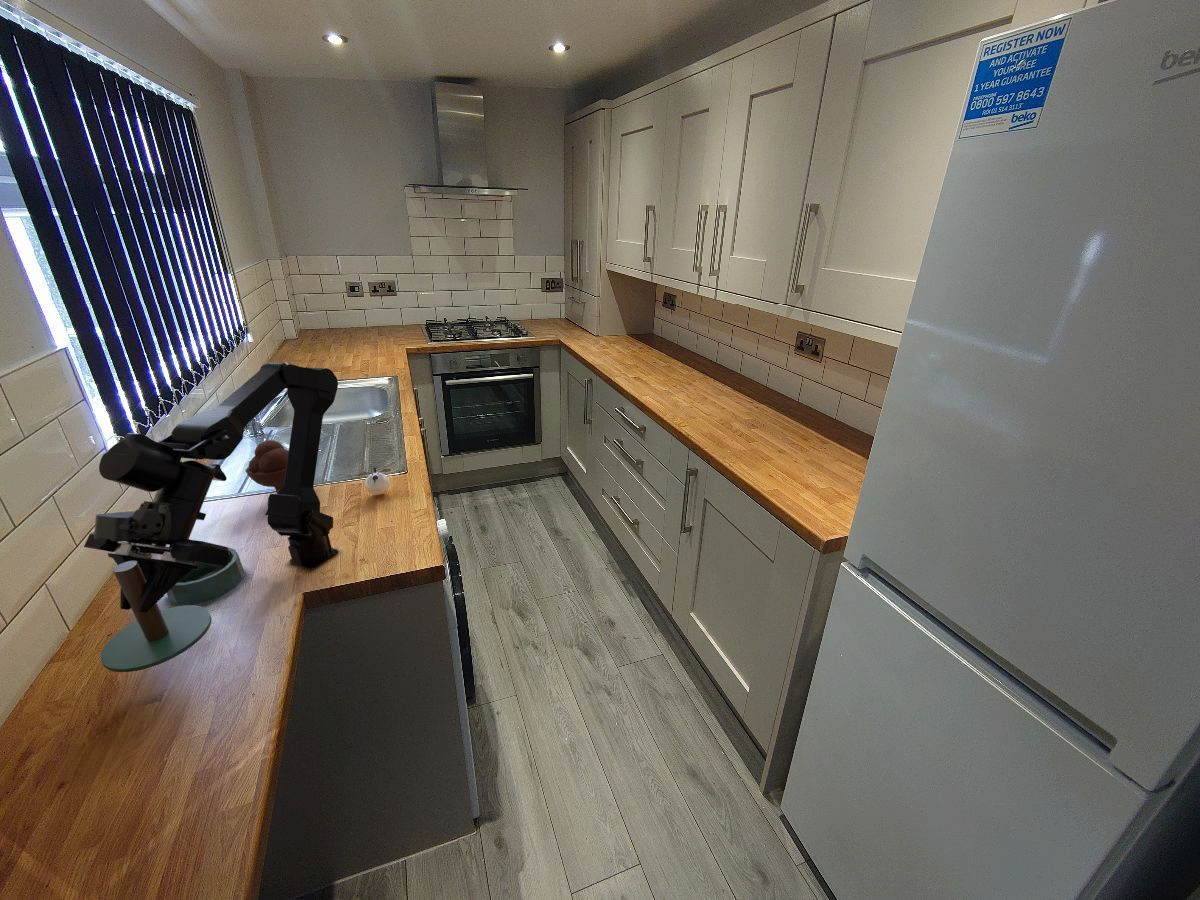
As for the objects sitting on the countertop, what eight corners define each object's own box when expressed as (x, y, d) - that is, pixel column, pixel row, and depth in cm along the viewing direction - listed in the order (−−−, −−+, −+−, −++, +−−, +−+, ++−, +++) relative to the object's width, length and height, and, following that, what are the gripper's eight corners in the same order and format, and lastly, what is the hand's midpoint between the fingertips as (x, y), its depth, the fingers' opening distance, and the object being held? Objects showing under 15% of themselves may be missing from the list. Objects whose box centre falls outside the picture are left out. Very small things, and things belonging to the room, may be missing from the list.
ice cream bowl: (246, 506, 125) (227, 449, 119) (287, 486, 135) (271, 432, 129) (278, 514, 122) (260, 455, 116) (317, 492, 131) (303, 437, 125)
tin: (219, 562, 105) (211, 541, 103) (258, 575, 101) (251, 554, 99) (155, 598, 95) (145, 576, 93) (196, 614, 91) (187, 591, 89)
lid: (181, 602, 83) (150, 532, 78) (231, 624, 79) (203, 551, 73) (84, 658, 73) (41, 582, 68) (135, 688, 68) (93, 608, 63)
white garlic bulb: (362, 506, 124) (356, 480, 121) (364, 491, 131) (358, 466, 128) (395, 500, 126) (389, 475, 124) (395, 486, 133) (390, 462, 130)
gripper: (69, 479, 72) (11, 596, 66) (182, 490, 68) (130, 615, 63) (147, 501, 82) (102, 604, 76) (249, 511, 78) (209, 620, 73)
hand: (133, 610), depth 72 cm, fingers closed on lid, 2 cm apart
